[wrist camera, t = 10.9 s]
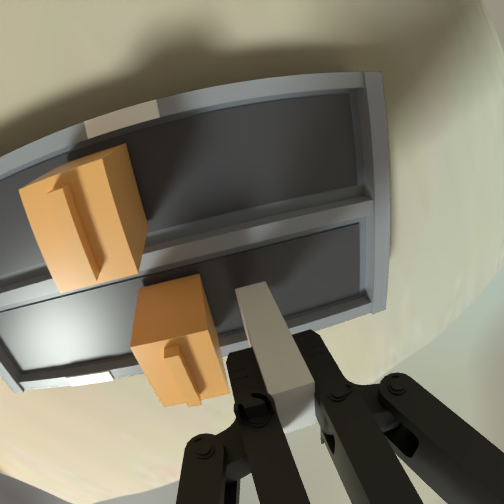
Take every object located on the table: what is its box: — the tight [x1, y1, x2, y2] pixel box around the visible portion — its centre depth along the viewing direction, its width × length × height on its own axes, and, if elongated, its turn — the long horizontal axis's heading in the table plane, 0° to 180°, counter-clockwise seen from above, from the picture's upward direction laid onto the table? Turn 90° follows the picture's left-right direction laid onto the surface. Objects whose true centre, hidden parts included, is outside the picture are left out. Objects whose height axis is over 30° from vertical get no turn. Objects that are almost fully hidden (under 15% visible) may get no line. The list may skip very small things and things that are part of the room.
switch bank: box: [0, 71, 390, 393], centre depth 16 cm, size 14×26×3 cm, turn 100°
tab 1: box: [19, 143, 149, 293], centre depth 11 cm, size 4×3×5 cm
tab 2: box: [130, 274, 230, 407], centre depth 14 cm, size 4×3×5 cm
